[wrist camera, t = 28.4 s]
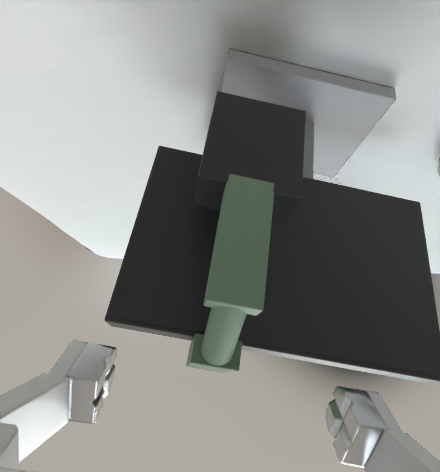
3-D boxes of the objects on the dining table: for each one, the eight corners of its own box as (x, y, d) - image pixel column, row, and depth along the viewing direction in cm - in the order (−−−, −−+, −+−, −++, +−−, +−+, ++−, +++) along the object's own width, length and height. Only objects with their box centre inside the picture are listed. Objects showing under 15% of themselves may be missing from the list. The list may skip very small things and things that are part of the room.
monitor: (181, 36, 22) (89, 308, 14) (438, 98, 24) (501, 384, 15) (179, 134, 31) (122, 335, 23) (364, 175, 33) (377, 381, 24)
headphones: (217, 90, 17) (157, 351, 11) (306, 110, 18) (294, 375, 12) (199, 207, 29) (166, 364, 23) (252, 218, 29) (233, 376, 23)
